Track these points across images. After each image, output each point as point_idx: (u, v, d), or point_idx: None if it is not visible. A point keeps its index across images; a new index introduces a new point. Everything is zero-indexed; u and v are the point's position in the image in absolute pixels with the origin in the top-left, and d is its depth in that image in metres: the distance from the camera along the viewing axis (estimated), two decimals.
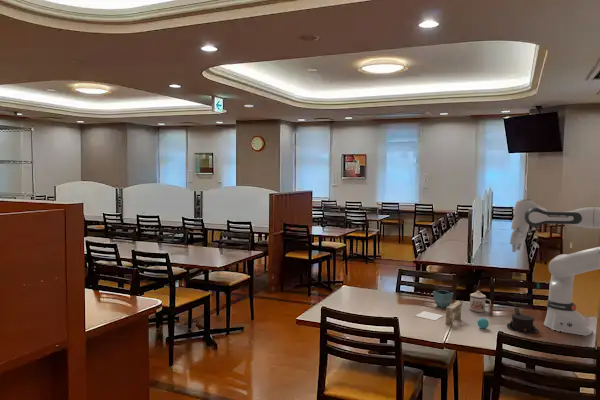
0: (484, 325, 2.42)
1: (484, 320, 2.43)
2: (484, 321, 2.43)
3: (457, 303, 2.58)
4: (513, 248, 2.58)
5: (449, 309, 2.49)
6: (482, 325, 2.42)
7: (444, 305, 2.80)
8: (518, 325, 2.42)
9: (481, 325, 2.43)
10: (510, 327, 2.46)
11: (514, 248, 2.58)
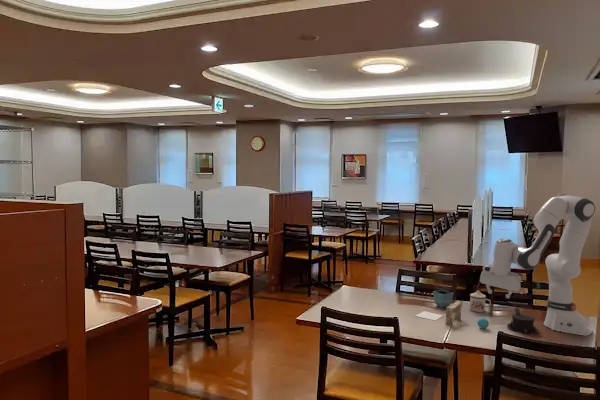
0: (484, 325, 2.42)
1: (484, 320, 2.43)
2: (484, 321, 2.43)
3: (457, 303, 2.58)
4: (509, 294, 2.37)
5: (449, 309, 2.49)
6: (482, 325, 2.42)
7: (444, 305, 2.80)
8: (518, 325, 2.41)
9: (481, 325, 2.43)
10: (510, 327, 2.45)
11: (510, 294, 2.37)
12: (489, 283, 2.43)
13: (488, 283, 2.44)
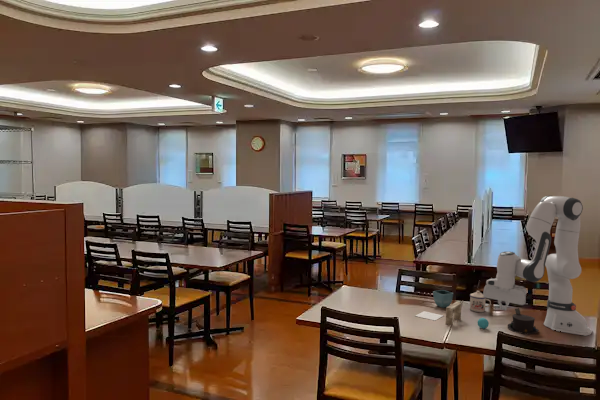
0: (484, 325, 2.42)
1: (484, 320, 2.43)
2: (484, 321, 2.43)
3: (457, 303, 2.58)
4: (506, 306, 2.36)
5: (449, 309, 2.49)
6: (482, 325, 2.42)
7: (444, 305, 2.80)
8: (519, 326, 2.41)
9: (481, 325, 2.43)
10: (511, 328, 2.45)
11: None
12: (493, 297, 2.39)
13: (492, 297, 2.39)
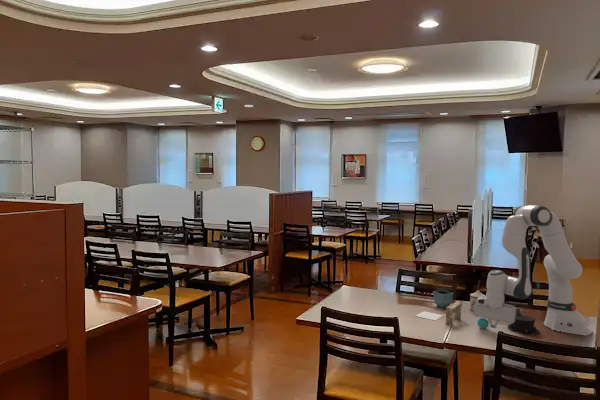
0: (484, 325, 2.42)
1: (484, 320, 2.43)
2: (484, 321, 2.43)
3: (457, 303, 2.58)
4: (496, 324, 2.39)
5: (449, 309, 2.49)
6: (482, 325, 2.42)
7: (444, 305, 2.80)
8: (519, 326, 2.40)
9: (481, 325, 2.43)
10: (511, 328, 2.44)
11: None
12: (483, 315, 2.42)
13: (482, 315, 2.42)
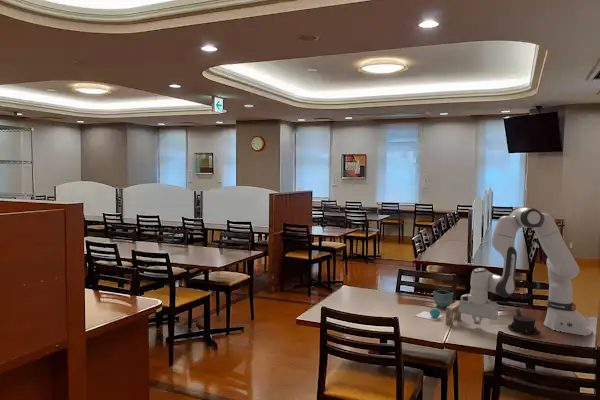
0: (431, 312, 2.60)
1: (432, 316, 2.61)
2: (431, 315, 2.60)
3: (457, 303, 2.58)
4: (480, 321, 2.45)
5: (449, 309, 2.49)
6: (432, 312, 2.59)
7: (444, 305, 2.80)
8: (519, 326, 2.40)
9: (433, 312, 2.59)
10: (511, 328, 2.44)
11: (480, 320, 2.46)
12: (467, 312, 2.48)
13: (466, 312, 2.48)
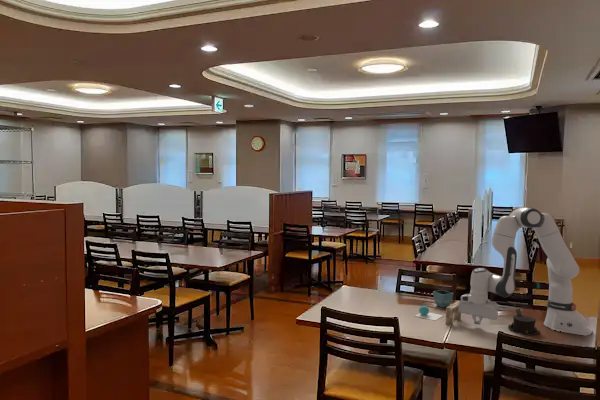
0: (423, 313, 2.63)
1: (426, 310, 2.63)
2: (426, 311, 2.62)
3: (457, 303, 2.58)
4: (480, 321, 2.45)
5: (449, 309, 2.49)
6: (422, 312, 2.63)
7: (444, 305, 2.80)
8: (519, 327, 2.39)
9: (421, 312, 2.63)
10: (511, 329, 2.43)
11: (480, 320, 2.46)
12: (467, 312, 2.48)
13: (466, 312, 2.48)
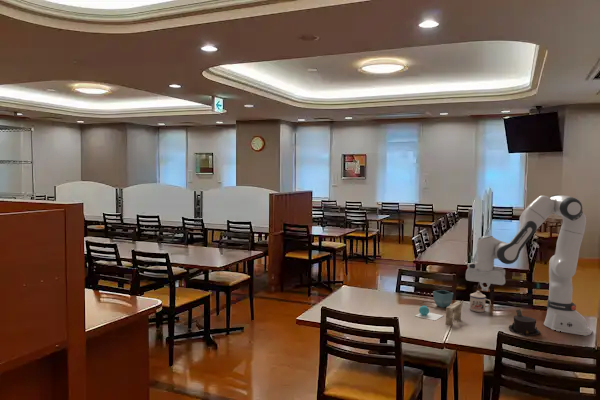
0: (423, 313, 2.63)
1: (426, 310, 2.63)
2: (426, 311, 2.62)
3: (457, 303, 2.58)
4: (488, 287, 2.49)
5: (449, 309, 2.49)
6: (422, 312, 2.63)
7: (444, 305, 2.80)
8: (520, 327, 2.39)
9: (421, 312, 2.63)
10: (512, 329, 2.43)
11: (488, 287, 2.49)
12: (475, 279, 2.52)
13: (474, 280, 2.52)
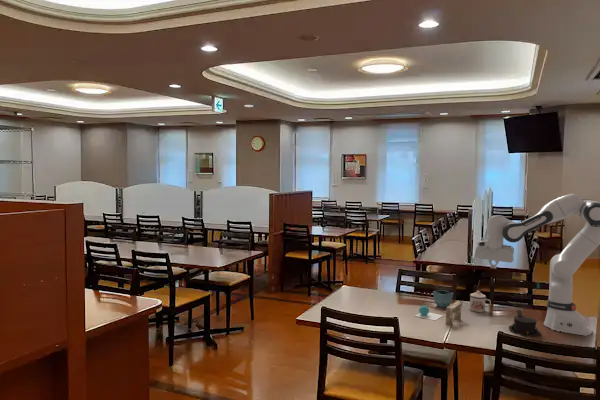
0: (423, 313, 2.63)
1: (426, 310, 2.63)
2: (426, 311, 2.62)
3: (457, 303, 2.58)
4: (496, 265, 2.58)
5: (449, 309, 2.49)
6: (422, 312, 2.63)
7: (444, 305, 2.80)
8: (520, 328, 2.38)
9: (421, 312, 2.63)
10: (512, 330, 2.42)
11: (496, 264, 2.59)
12: (484, 257, 2.61)
13: (483, 257, 2.61)
